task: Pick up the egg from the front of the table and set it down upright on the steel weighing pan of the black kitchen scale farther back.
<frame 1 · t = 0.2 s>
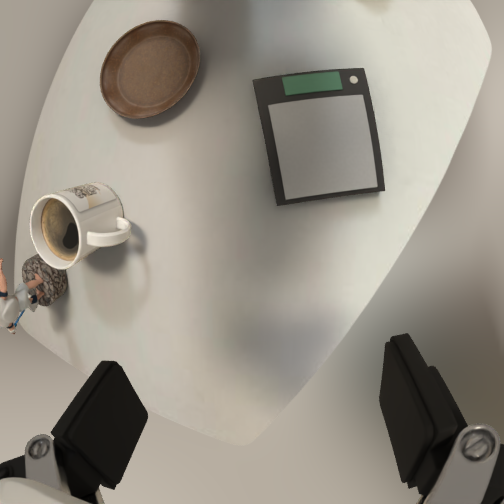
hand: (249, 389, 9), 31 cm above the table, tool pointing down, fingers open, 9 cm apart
saucer: (153, 70, 33), on the table
mug: (103, 216, 41), on the table
scale: (319, 134, 34), on the table
figurine: (51, 273, 45), on the table
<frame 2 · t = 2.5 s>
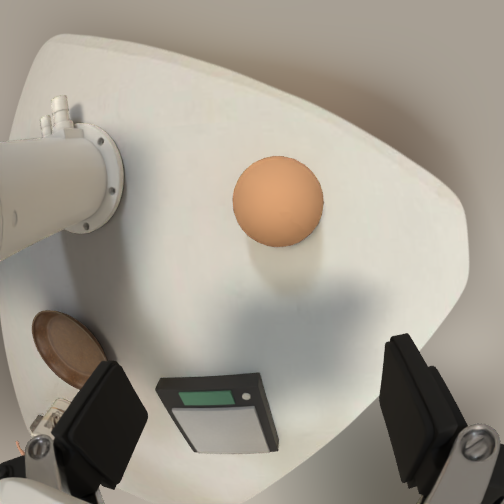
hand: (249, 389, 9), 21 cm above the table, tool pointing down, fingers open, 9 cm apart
saucer: (76, 344, 37), on the table
egg: (277, 193, 28), on the table
mug: (79, 417, 45), on the table
scale: (223, 413, 38), on the table
figurine: (51, 427, 49), on the table
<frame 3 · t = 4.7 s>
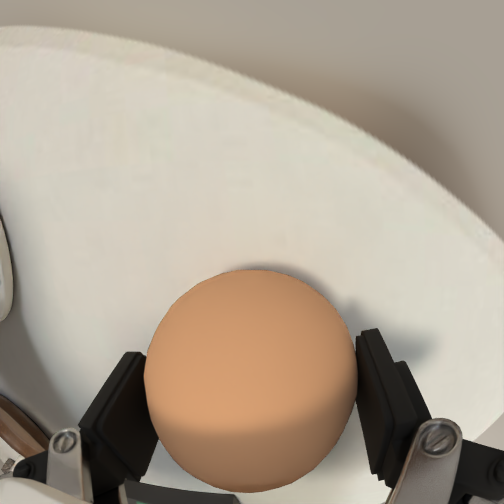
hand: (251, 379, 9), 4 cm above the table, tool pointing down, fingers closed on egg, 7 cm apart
saucer: (22, 423, 23), on the table
egg: (259, 314, 14), on the table, touching gripper
figurine: (23, 469, 35), on the table
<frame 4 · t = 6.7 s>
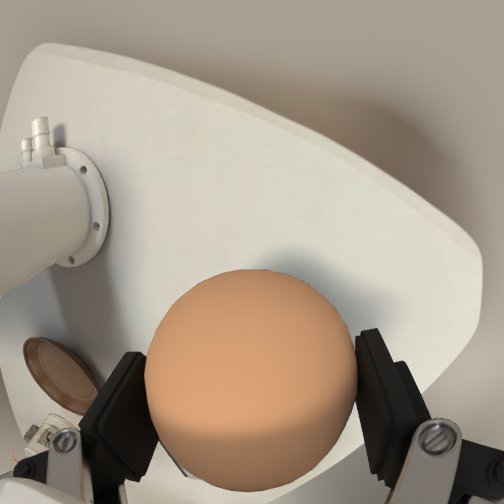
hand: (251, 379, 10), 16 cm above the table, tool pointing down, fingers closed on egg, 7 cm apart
saucer: (67, 369, 34), on the table
egg: (259, 314, 14), point 12 cm above the table, touching gripper
mug: (72, 432, 42), on the table
figurine: (45, 436, 47), on the table
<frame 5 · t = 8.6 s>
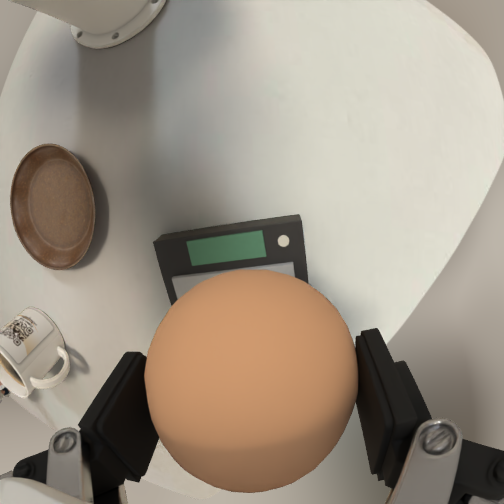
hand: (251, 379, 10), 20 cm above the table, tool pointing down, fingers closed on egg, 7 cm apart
saucer: (60, 203, 29), on the table
egg: (259, 314, 14), point 16 cm above the table, touching gripper
mug: (48, 336, 37), on the table
scale: (241, 296, 31), on the table
figurine: (18, 362, 42), on the table
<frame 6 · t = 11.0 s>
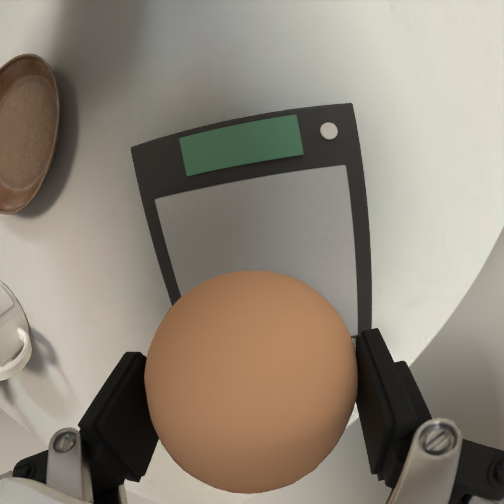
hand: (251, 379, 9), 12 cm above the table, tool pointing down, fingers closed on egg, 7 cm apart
saucer: (24, 132, 19), on the table
egg: (259, 314, 14), point 8 cm above the table, touching gripper
mug: (11, 317, 27), on the table
scale: (262, 236, 21), on the table
when the fingers open (7 cm above the table, at t = 12.8 s): egg stays where it is, resting on scale.
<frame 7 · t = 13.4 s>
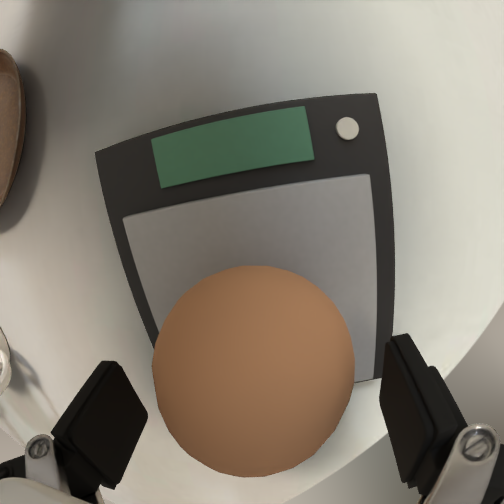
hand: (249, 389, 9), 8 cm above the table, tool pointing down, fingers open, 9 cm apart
egg: (261, 309, 14), point 3 cm above the table, touching scale
scale: (259, 261, 17), on the table
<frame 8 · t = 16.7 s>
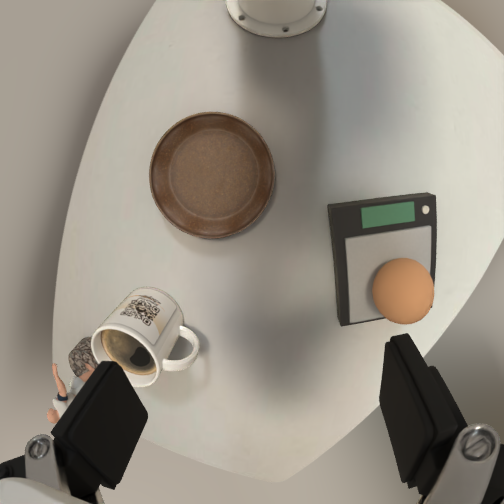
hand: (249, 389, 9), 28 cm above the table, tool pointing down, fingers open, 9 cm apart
saucer: (213, 173, 35), on the table
egg: (391, 275, 34), point 3 cm above the table, touching scale
mug: (160, 318, 43), on the table
scale: (384, 257, 36), on the table
figurine: (99, 355, 47), on the table
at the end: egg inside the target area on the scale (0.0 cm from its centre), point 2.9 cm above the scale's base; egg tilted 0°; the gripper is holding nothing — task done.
